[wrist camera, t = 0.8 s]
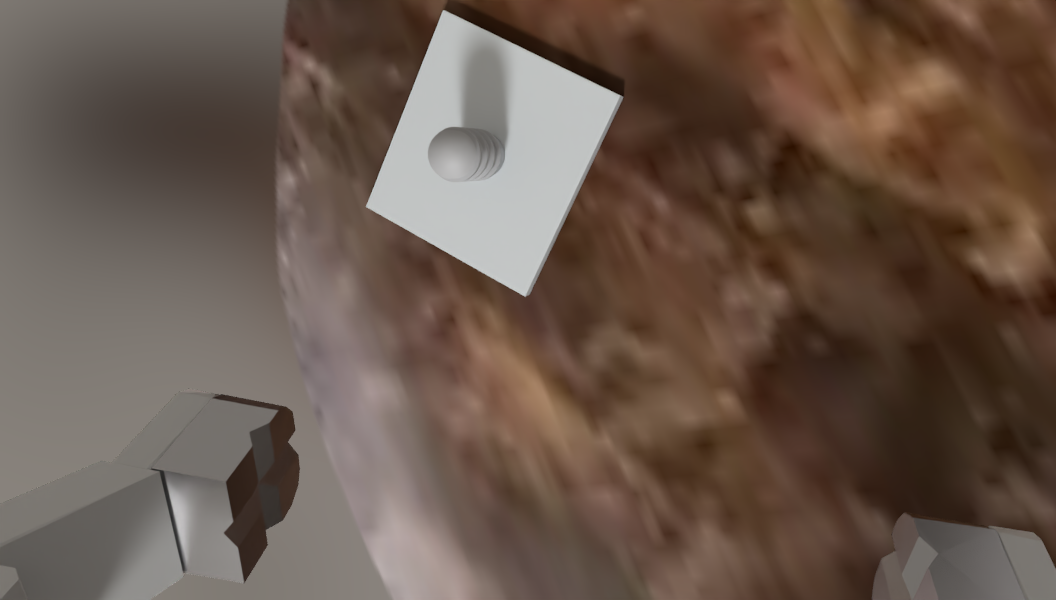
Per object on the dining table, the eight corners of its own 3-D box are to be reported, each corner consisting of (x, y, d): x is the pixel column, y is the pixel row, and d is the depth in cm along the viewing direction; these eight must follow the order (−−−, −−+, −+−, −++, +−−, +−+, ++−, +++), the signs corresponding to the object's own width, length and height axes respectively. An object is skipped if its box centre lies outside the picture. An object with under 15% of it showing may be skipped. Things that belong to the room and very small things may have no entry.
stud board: (449, 12, 48) (402, -7, 43) (623, 97, 46) (597, 88, 40) (372, 206, 52) (321, 211, 47) (529, 294, 50) (494, 310, 44)
